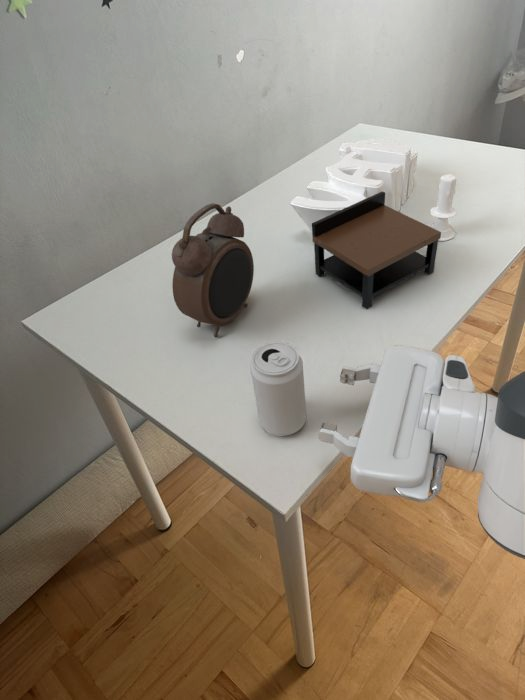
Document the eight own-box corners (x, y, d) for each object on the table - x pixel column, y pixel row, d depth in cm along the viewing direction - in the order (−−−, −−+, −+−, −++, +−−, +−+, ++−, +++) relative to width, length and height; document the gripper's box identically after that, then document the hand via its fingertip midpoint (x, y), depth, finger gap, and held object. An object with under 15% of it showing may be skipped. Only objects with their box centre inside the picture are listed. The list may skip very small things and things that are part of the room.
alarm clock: (217, 351, 80) (191, 241, 66) (182, 338, 83) (150, 230, 69) (266, 299, 88) (252, 192, 74) (232, 289, 91) (213, 184, 78)
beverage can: (281, 395, 71) (273, 331, 63) (316, 417, 68) (313, 353, 60) (250, 422, 68) (237, 360, 60) (285, 447, 65) (277, 384, 57)
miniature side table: (435, 272, 88) (443, 219, 81) (366, 310, 83) (368, 257, 76) (379, 241, 97) (382, 191, 90) (313, 274, 92) (311, 223, 85)
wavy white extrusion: (359, 260, 93) (360, 208, 86) (284, 241, 101) (280, 191, 94) (429, 180, 113) (434, 132, 106) (361, 169, 121) (363, 124, 114)
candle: (431, 224, 100) (439, 165, 92) (458, 230, 97) (469, 170, 89) (421, 237, 97) (428, 178, 89) (448, 244, 94) (459, 183, 86)
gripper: (435, 522, 52) (306, 487, 57) (456, 382, 65) (351, 363, 70) (443, 489, 48) (304, 454, 52) (463, 346, 61) (351, 328, 66)
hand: (331, 401), depth 61 cm, fingers open, 8 cm apart
